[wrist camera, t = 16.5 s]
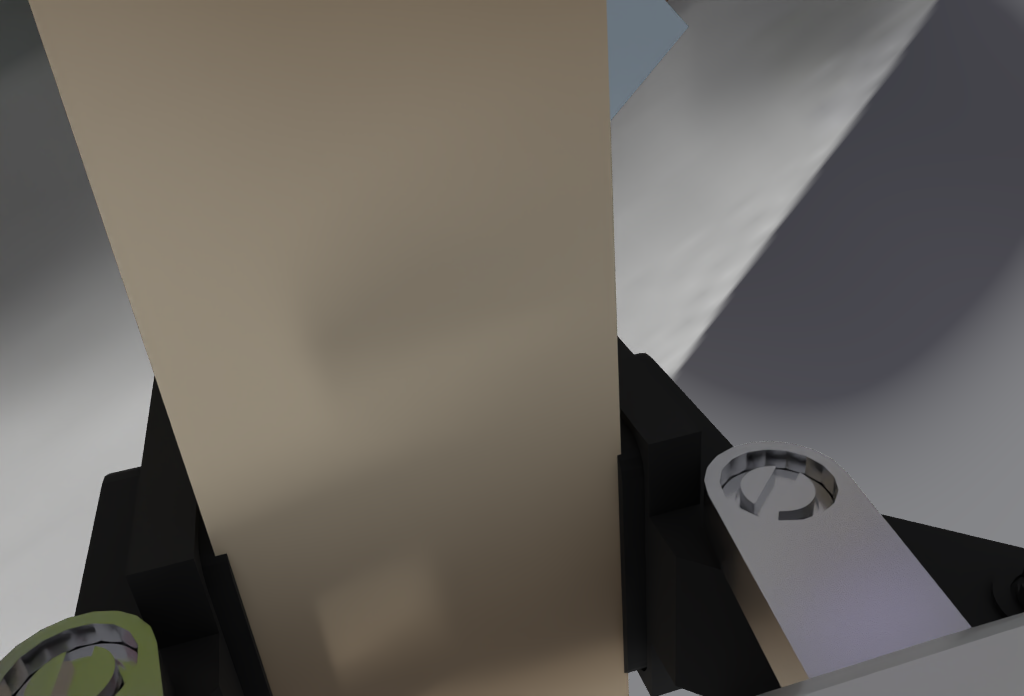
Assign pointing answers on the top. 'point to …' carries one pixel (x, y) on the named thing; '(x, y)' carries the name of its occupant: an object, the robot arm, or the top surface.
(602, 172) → the beige rectangular block
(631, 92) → the light blue rectangular block
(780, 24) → the top surface
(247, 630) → the robot arm
